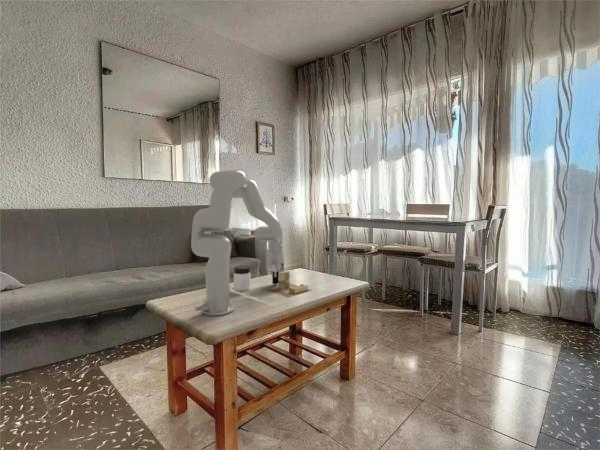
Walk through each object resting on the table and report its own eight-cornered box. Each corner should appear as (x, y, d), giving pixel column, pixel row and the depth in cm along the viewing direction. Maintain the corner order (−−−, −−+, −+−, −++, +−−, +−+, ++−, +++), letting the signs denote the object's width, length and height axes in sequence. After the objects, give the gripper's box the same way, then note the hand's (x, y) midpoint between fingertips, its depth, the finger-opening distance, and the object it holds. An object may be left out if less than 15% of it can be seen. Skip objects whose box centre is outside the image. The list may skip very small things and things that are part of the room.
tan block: (283, 288, 157) (282, 273, 157) (278, 287, 160) (278, 272, 159) (289, 287, 160) (289, 271, 160) (285, 285, 163) (284, 270, 162)
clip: (294, 294, 148) (294, 289, 148) (289, 292, 151) (289, 287, 150) (307, 290, 154) (307, 285, 154) (302, 288, 157) (302, 284, 157)
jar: (237, 293, 153) (236, 269, 152) (231, 289, 160) (230, 266, 159) (253, 290, 158) (253, 267, 157) (247, 287, 165) (247, 264, 164)
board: (288, 299, 143) (287, 297, 143) (265, 292, 155) (265, 289, 155) (313, 292, 155) (313, 289, 155) (290, 285, 167) (290, 283, 167)
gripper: (261, 248, 166) (261, 282, 167) (279, 251, 155) (279, 287, 157) (271, 247, 171) (272, 279, 173) (290, 250, 161) (290, 284, 162)
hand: (275, 283), depth 165 cm, fingers closed
